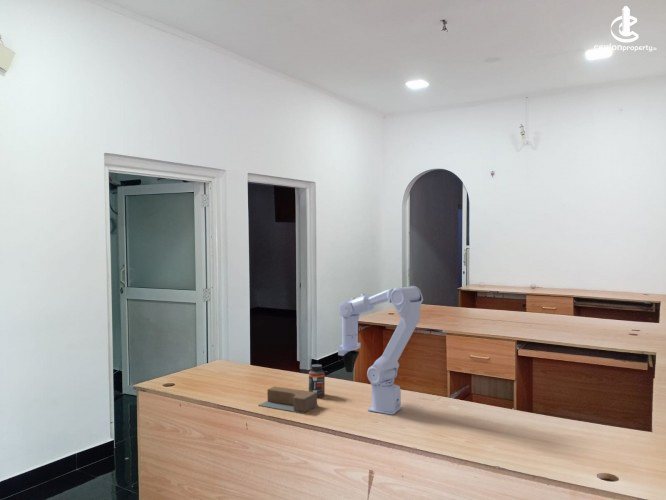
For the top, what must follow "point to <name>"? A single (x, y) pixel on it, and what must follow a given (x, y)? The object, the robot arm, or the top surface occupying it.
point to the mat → (281, 406)
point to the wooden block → (293, 398)
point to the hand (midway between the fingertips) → (349, 371)
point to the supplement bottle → (317, 380)
